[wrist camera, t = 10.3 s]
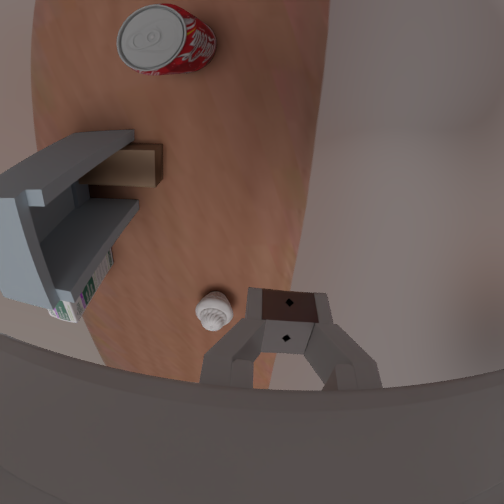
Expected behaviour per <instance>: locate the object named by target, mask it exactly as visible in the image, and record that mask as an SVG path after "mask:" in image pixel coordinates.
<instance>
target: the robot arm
mask: <svg viewBox="0 0 504 504" xmlns="http://www.w3.org/2000/svg"><path fill="white" fill-rule="evenodd" d="M260 352H270V353H290V354H304V356H305V358H306V359H307V361H308V362H309V363H310V365H311V366H312V368H313V369H314V370H315V372H316V373H317V374H318V376H319V377H320V378H321V380H322V381H323V383H324V384H325V386H324V387H323V389H322V391H298V390H297V391H296V390H270V389H254V388H253V362H254V361H255V360H256V358H257V357H258V356H259V354H260ZM0 504H504V369H501V370H497V371H493V372H489V373H484V374H480V375H475V376H470V377H465V378H459V379H453V380H447V381H441V382H434V383H427V384H420V385H411V386H401V387H390V388H383V387H382V383H381V380H380V376H379V371H378V368H377V364H376V362H375V361H374V360H373V359H372V358H371V357H370V356H369V355H368V354H367V353H366V352H365V351H364V350H363V349H362V348H361V347H360V346H359V345H358V344H357V343H356V342H355V341H354V340H353V339H352V338H351V337H350V336H349V335H348V334H346V332H345V331H343V330H342V329H341V328H340V327H339V326H338V325H337V324H333V319H332V315H331V310H330V306H329V301H328V297H327V294H326V293H310V292H309V293H308V292H294V291H282V290H273V289H263V288H262V289H261V288H252V287H249V288H248V295H247V304H246V314H245V318H242V319H241V320H240V321H239V322H238V323H237V324H236V325H235V326H234V327H233V328H232V329H231V330H230V331H229V332H228V333H226V334H225V335H224V336H223V337H222V338H221V339H220V340H219V341H218V342H217V343H216V344H215V345H214V346H213V347H212V348H211V349H210V350H209V351H208V352H207V353H206V354H204V360H203V365H202V371H201V376H200V382H199V383H194V382H187V381H180V380H174V379H168V378H162V377H156V376H150V375H145V374H140V373H135V372H130V371H125V370H121V369H116V368H112V367H108V366H104V365H99V364H95V363H92V362H88V361H84V360H80V359H77V358H73V357H70V356H66V355H63V354H60V353H56V352H53V351H50V350H47V349H44V348H41V347H37V346H35V345H32V344H29V343H26V342H23V341H20V340H18V339H15V338H13V337H11V336H8V335H6V334H3V333H0Z"/></svg>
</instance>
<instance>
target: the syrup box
mask: <svg viewBox="0 0 504 504" xmlns="http://www.w3.org/2000/svg"><path fill="white" fill-rule="evenodd" d="M113 263H114V262H113V258H112V251H111V248H110V250H109V251H108V253H107V254H106V256H105V257H104V259H103V260H102V261H101V263H100V264H99V266H98V267H97V269H96V270H95V272H94V274H93V275H92V277H91V278H90V280H89V281H88V283H87V284H86V286H85V288H84V289H83V291H82V292H81V294H80V296H79V297H78V299H77V300H76V302H75V303H72V302H67V301H62V300H59V302H58V303H57V305H56V307H55V308H54V310H51V309H48V312H49V314H50V315H51V316H53V317H56V318H58V319H61V320H65V321H68V322H74V323H78V321H79V319H80V318H81V316H82V314H83V313H84V311H85V309H86V307H87V306H88V304H89V302H90V300H91V299H92V297H93V295H94V294H95V292H96V290H97V289H98V287H99V286H100V284H101V282H102V281H103V279H104V278H105V276H106V274H107V273H108V271H109V270H110V268H111V267H112V265H113Z"/></svg>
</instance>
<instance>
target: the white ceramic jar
mask: <svg viewBox="0 0 504 504" xmlns="http://www.w3.org/2000/svg"><path fill="white" fill-rule="evenodd" d="M196 315H197V317H198V319H199V320H200V321H201V323H202V326H203V327H204V328H205V329H207V330H209V331H217V330H220V328H222V327H223V325H226V324H228V323H229V322H230V321H231V319H232V317H233V310H232V308H231V304H230V303H229V301H228V299H227V298H226V296H225V295H224V294H222V293H221V292H219V291H213V292H210V293H209V294H207V295H206V296H205V297H204V298H202V300H200V302H199V303H198V304H197V306H196Z"/></svg>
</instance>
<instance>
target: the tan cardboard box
mask: <svg viewBox="0 0 504 504" xmlns="http://www.w3.org/2000/svg"><path fill="white" fill-rule="evenodd" d="M162 179H163V144H134V143H129V144H128V145H126V146H125V147H123V148H121V149H120V150H119V151H117V152H116V153H114V154H113V155H111V156H110V157H108V158H107V159H105V160H104V161H103V162H101V163H100V164H98V165H97V166H96V167H94V168H93V169H91V170H90V171H89V172H87V173H86V174H85V175H83V176H82V177H81V178H79V179H78V181H79V184H90V185H116V186H136V187H153V188H156V186H157V185H158V184H159V183H160V182H161V180H162Z"/></svg>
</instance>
